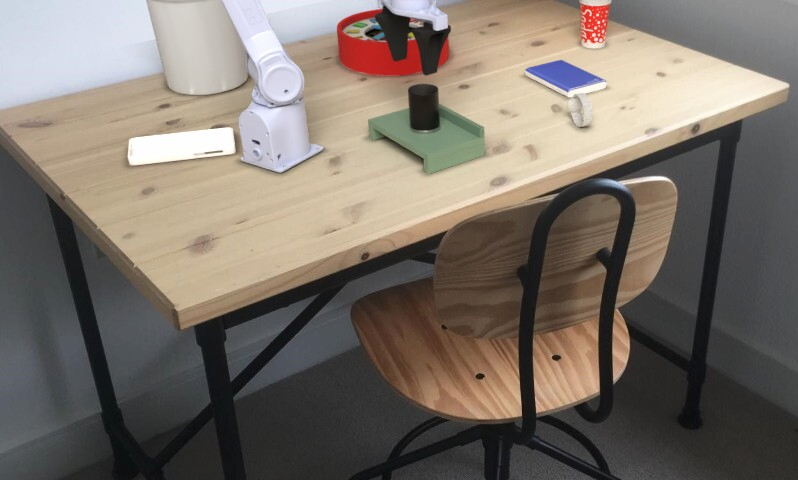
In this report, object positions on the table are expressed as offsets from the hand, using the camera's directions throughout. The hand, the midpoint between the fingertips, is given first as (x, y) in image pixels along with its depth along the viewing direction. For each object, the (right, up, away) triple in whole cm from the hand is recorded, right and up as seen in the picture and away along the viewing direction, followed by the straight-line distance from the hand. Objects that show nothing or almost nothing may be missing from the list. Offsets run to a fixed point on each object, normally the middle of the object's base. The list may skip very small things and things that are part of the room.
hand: (414, 66), depth 143 cm
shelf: (+2, -12, +1) cm, 12 cm away
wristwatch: (+25, -8, +8) cm, 27 cm away
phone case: (-34, -13, 0) cm, 37 cm away
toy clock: (-7, +10, +34) cm, 36 cm away
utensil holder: (-38, +3, +23) cm, 45 cm away
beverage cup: (+30, +14, +39) cm, 51 cm away
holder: (+2, -9, -1) cm, 9 cm away
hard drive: (+24, +3, +23) cm, 33 cm away
